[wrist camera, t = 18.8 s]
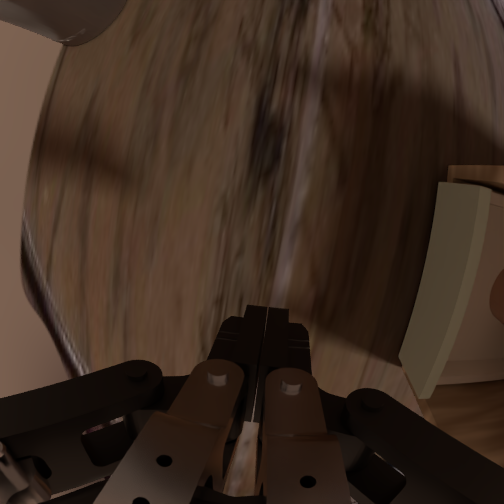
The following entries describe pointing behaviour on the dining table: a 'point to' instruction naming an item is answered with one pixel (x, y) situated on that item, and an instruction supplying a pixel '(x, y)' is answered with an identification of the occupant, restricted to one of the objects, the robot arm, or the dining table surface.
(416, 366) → the tray
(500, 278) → the canister
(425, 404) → the housing
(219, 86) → the dining table surface
